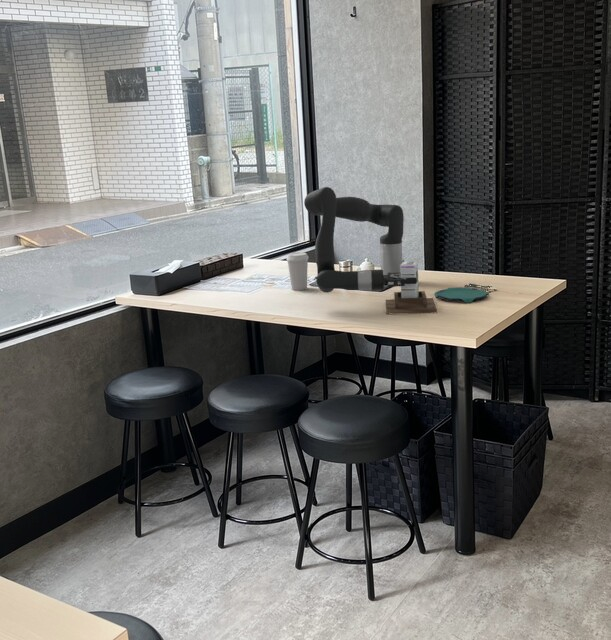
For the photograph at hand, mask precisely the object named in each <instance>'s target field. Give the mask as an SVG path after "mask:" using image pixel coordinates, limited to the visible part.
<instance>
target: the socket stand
mask: <svg viewBox="0 0 611 640" xmlns="http://www.w3.org/2000/svg"><path fill="white" fill-rule="evenodd" d="M393 295H394V299H389V298H388V299H385V312H386V315H390V314H389V313H408V314H427V313H429V314H430V313H431V312H433V314H434V312H436V313H438V311H437V310H438V309H437V306H436V302H435V299H434V297H427V295H426V291H425V290H423V291H422V290H420V291H419V298H401V291H396V292H395V291H394V292H393ZM431 314H432V313H431Z"/></svg>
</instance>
